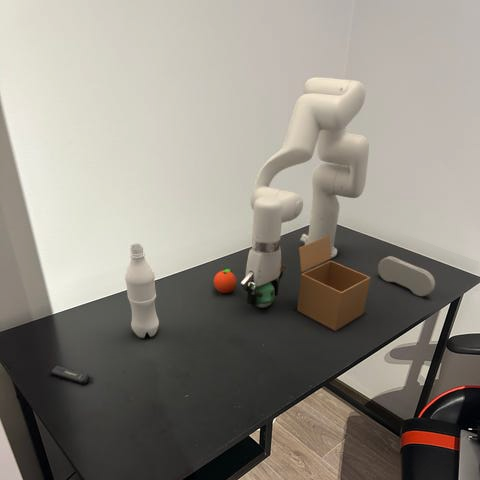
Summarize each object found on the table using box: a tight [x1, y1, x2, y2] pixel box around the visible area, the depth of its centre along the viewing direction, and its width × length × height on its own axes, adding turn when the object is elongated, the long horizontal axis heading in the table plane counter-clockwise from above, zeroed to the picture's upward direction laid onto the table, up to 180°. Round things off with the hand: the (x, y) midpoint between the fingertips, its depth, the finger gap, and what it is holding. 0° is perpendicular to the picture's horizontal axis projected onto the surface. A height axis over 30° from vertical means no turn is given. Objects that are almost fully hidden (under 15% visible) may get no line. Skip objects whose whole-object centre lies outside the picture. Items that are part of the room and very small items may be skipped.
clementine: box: [213, 268, 237, 294], centre depth 138 cm, size 8×7×7 cm
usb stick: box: [51, 365, 91, 385], centre depth 104 cm, size 10×3×2 cm, turn 69°
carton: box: [296, 260, 372, 332], centre depth 128 cm, size 14×13×12 cm
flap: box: [297, 236, 332, 273], centre depth 127 cm, size 7×13×1 cm
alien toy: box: [251, 282, 275, 309], centre depth 130 cm, size 7×8×10 cm
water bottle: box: [124, 243, 160, 339], centre depth 114 cm, size 7×7×25 cm
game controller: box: [377, 255, 436, 297], centre depth 143 cm, size 20×2×8 cm, turn 39°
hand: (262, 299), depth 131 cm, fingers open, 8 cm apart
